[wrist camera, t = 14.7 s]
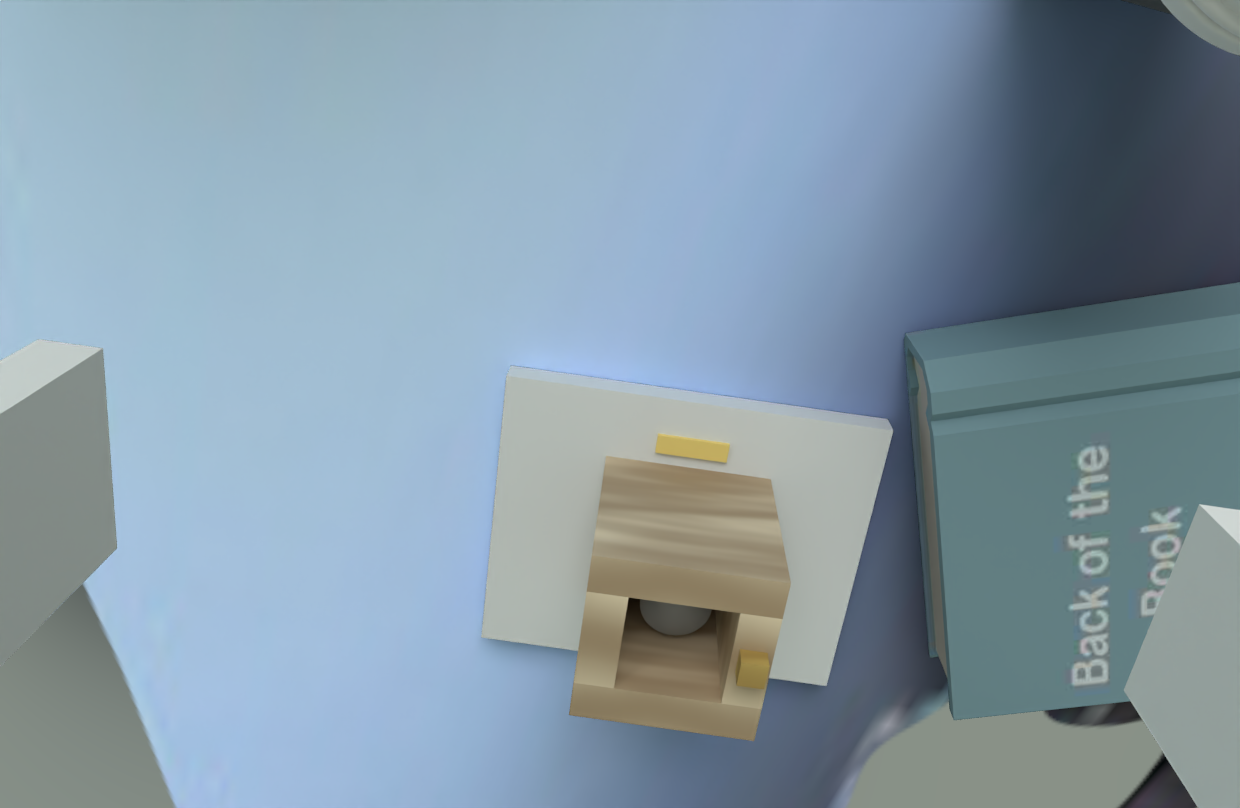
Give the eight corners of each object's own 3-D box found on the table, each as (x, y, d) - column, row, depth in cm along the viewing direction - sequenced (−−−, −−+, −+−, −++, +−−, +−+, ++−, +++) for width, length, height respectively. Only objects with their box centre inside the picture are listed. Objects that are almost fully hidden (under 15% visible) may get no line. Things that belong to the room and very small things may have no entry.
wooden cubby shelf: (605, 455, 42) (590, 567, 34) (770, 479, 43) (793, 596, 34) (586, 595, 45) (566, 729, 37) (741, 617, 45) (755, 756, 37)
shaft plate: (485, 622, 47) (460, 709, 42) (510, 365, 42) (485, 425, 37) (822, 669, 48) (842, 763, 42) (887, 418, 42) (921, 487, 37)
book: (926, 648, 47) (954, 720, 43) (900, 326, 41) (929, 369, 37) (1446, 587, 45) (1534, 657, 40) (1498, 234, 39) (1609, 269, 34)
